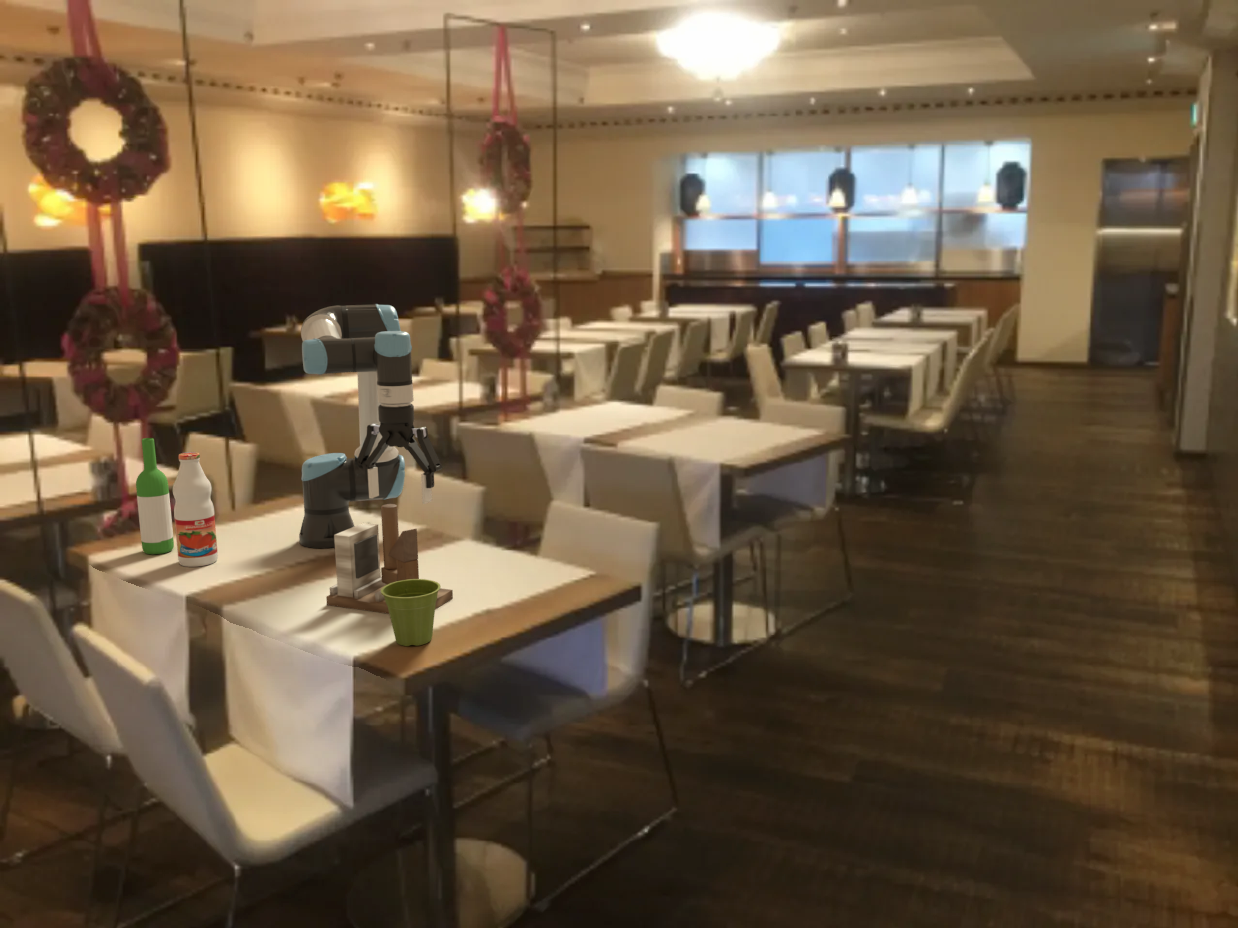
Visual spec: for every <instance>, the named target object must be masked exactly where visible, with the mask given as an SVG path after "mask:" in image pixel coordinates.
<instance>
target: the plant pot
mask: <svg viewBox="0 0 1238 928" xmlns="http://www.w3.org/2000/svg"><path fill="white" fill-rule="evenodd" d="M440 588H441V583H439V582H437V581H434V580H431V579H426V578H419V579H408V580H401V581H396V582H393V583H390V584H388V585H386V586H384V587H383V588H382V589H381V594H382V595H384V598H385V601H386V604H387V606H388V610H389V618H390V623H391V626H392V630H393V635H394V638H395V642H396V644H398V645H400V646H403V647H409V646H415V647H417V646H418V647H419V646H422V645H425V644H427V643H430V641H432V638H433V631H434V622H435V612H436V609H435V605H436V600H437V595H438V591H439V590H440Z"/></svg>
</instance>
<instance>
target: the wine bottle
mask: <svg viewBox="0 0 1238 928" xmlns="http://www.w3.org/2000/svg"><path fill="white" fill-rule="evenodd" d="M141 447H142V448H141V449H142V458H143V460H142V461H143V470H142V471H141V472H140V473H139V474H138V475H137V477H136V481H135V489H136V502H137V509H138V510H137V511H138V520H139V529H140V532H139V533H140V540H141V548H142V551H143V553H145V554H146V555H162V554H166V553H169V552H172V551H173V549H174V547H175V541H174V530H173V520H172V518H173V517H172V509H171V502H170V501H171V500H170V491H169V490H170V488H169V482H168V478H167V476H166V474H164V472H162V471H161V470H160V469H158V466H157V465H158V464H157V457H156V456H157V455H156V446H155V439H154V438H153V437H144V438H142V439H141Z"/></svg>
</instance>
